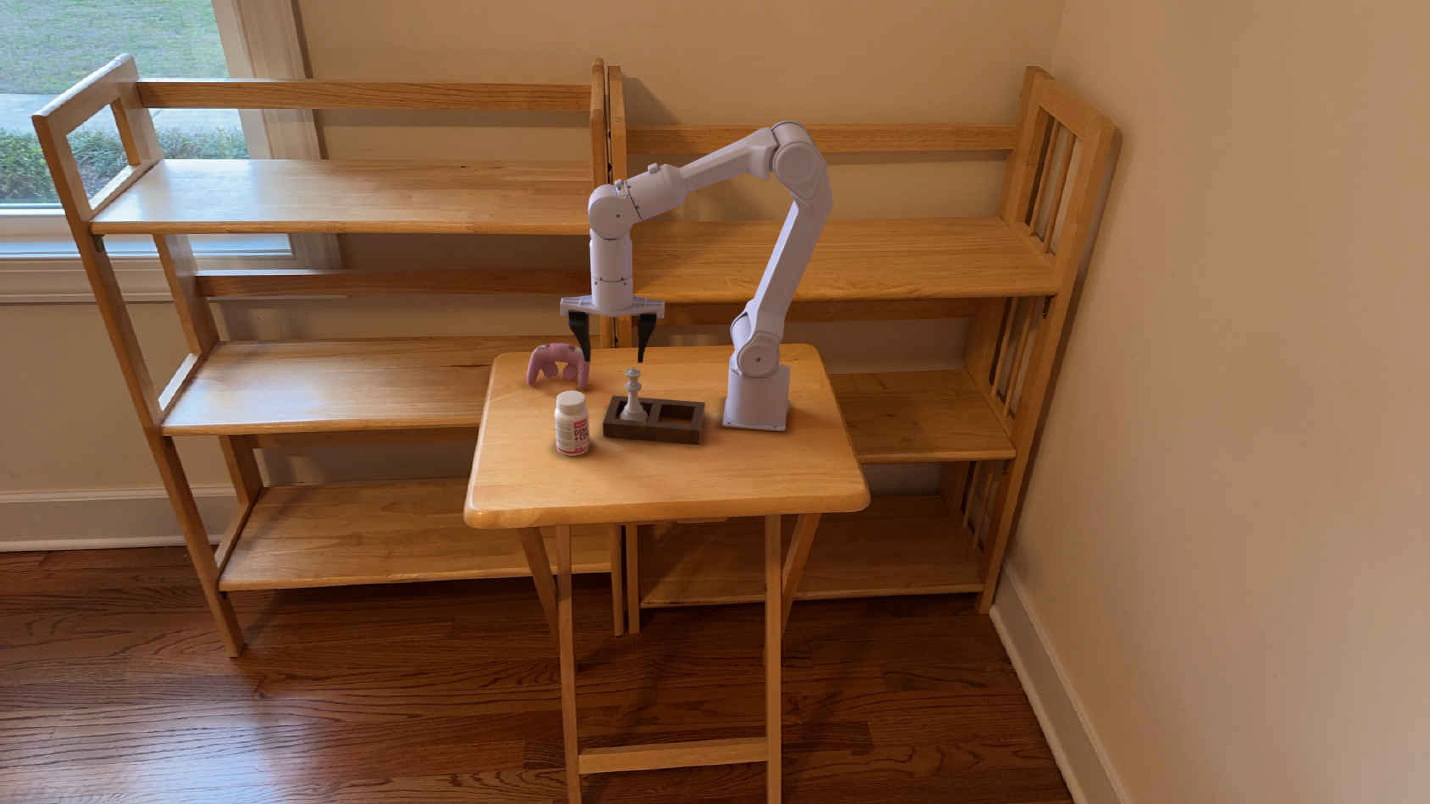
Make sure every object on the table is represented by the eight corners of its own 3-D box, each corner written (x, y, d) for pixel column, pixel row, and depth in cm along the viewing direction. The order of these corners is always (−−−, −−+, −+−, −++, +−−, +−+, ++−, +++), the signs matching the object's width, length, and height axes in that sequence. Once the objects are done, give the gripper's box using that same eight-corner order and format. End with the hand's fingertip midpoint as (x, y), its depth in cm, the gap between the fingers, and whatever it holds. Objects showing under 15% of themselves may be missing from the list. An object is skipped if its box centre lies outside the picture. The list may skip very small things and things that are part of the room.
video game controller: (591, 388, 155) (594, 345, 154) (585, 390, 150) (588, 346, 149) (531, 383, 155) (533, 340, 155) (523, 385, 151) (526, 341, 150)
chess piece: (648, 432, 142) (648, 374, 136) (619, 433, 141) (617, 374, 136) (648, 416, 145) (647, 359, 140) (618, 417, 145) (617, 359, 140)
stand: (704, 416, 146) (705, 402, 145) (699, 444, 139) (699, 430, 138) (612, 408, 147) (612, 395, 146) (603, 437, 140) (602, 423, 139)
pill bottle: (580, 459, 135) (578, 409, 131) (550, 452, 137) (547, 402, 132) (595, 442, 139) (593, 393, 135) (566, 435, 140) (563, 386, 136)
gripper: (665, 262, 136) (665, 346, 143) (562, 260, 135) (567, 344, 142) (663, 284, 130) (663, 370, 137) (556, 281, 129) (561, 368, 137)
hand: (614, 359), depth 139 cm, fingers open, 7 cm apart
